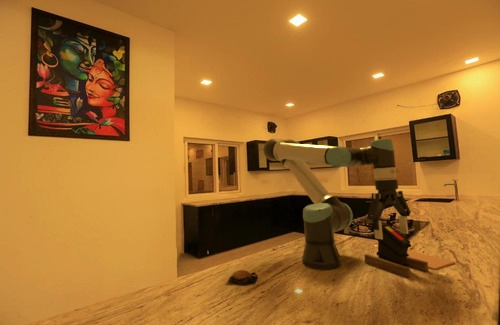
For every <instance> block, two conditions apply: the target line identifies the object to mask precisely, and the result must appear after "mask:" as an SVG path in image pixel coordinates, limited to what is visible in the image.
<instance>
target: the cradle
mask: <svg viewBox="0 0 500 325" xmlns="http://www.w3.org/2000/svg"><path fill="white" fill-rule="evenodd" d="M364 263H365V264H368V265H370V266H373V267H377V268H379V269H382V270H385V271H387V272H391V273H393V274H396V275H399V276H401V277H404V278H407V279H408V278H411V272H410V270H411V269H410V268H412V269H416V270H419V271H421V272H424V273H425V272H427V273H428V272H429V271H430V269H429V268H428V262H425V261H422V260H418V259H414V258H411V257H407V263H408V264H409V266H407V267H406V266H403V265H400V264H397V263H393V262H390V261H387V260H384V259H381V258H378V256H375V255H371V254H367V253H366V254H364Z"/></svg>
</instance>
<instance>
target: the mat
mask: <svg viewBox="0 0 500 325" xmlns="http://www.w3.org/2000/svg"><path fill="white" fill-rule="evenodd" d="M407 254H409V256H407V257H411V258H414V259H418V260H422V261H425V262H428V269H429V270H432V271H436V270H440V269H443V268H445V267H446V268H447V267H448V266H451V265H452V266H453V265H456V261H453V260H449V259H446V258H441V257H438V256H434V255H429V254H425V253H422V252H417V251H414V250H410V249H408V250H407Z"/></svg>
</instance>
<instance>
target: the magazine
mask: <svg viewBox="0 0 500 325" xmlns="http://www.w3.org/2000/svg"><path fill="white" fill-rule="evenodd" d="M381 226H382V235H383V239H382V240H381V239H377V238H376V241H377V242H378V243H377V251H376V256H377V257H378V258H381V259H384V260H387V261H390V262H393V263H397V264H400V265H403V266H406V267H409V264H408V263H407V256H409V254H407V250H409V248H411V247H412V244H411V241H410V240H409V239H408V238H406V236H404V235H403V234H402V233H400V231H398V230H397V229H395V228H394V227H392V226H391V225H390V224H388V223H383V224H382V223H381Z"/></svg>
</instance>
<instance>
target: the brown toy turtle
mask: <svg viewBox="0 0 500 325" xmlns="http://www.w3.org/2000/svg"><path fill="white" fill-rule="evenodd" d="M258 278H259V276H258V275H257V273H255V272H249V271H247V270H245V269H239V270H237V271H235V272H233V273H232V275H230V276H229V278H228V279H227V281H226V283H225V286H252V285H256V283H257V281H258Z"/></svg>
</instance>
